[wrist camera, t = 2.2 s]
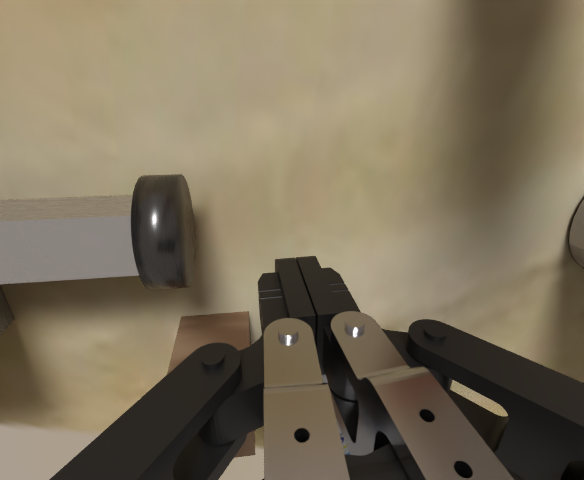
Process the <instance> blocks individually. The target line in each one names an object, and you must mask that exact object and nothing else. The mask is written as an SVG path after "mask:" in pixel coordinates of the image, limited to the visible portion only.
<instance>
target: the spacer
mask: <svg viewBox="0 0 584 480" xmlns="http://www.w3.org/2000/svg"><path fill="white" fill-rule="evenodd" d="M217 342H220V343H227V344H230V345H232V346H234V347H235V348H236V349H237V350H238V351H239V350H242V349H244V348H247V347H249V346H251V345H250V328H249V311H248V312H235V313H222V314H210V315H197V316H185V317H181V320H180V324H179V328H178V332H177V336H176V341H175V345H174V349H173V353H172V357H171V361H170V365H169V369H168V373H167V375H168V374H169V373H170V372H171V371H172V370H173V369H174V368H175V367H177V366H178V365H179V364H180V363H181V362H182V361H183V360H184V359H186V358H187V357H188V356H189V355H190V354H191V353H192V352H194V351H195V350H196V349H198V348H199V347H201V346H204V345H206V344H210V343H217ZM250 455H255V439H254V431H252V432H250V433H248V434H247V437H246V440H245V442H244V444H243V445H242V447H241V448H240V449H239V451H238V452H237V454H236V455H235V457H242V456H250Z"/></svg>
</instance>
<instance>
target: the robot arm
mask: <svg viewBox="0 0 584 480" xmlns="http://www.w3.org/2000/svg"><path fill="white" fill-rule="evenodd" d="M569 244H570V249H571V253H572V255H573V257H574V259H575V261H576V262H577V263H578V264H580V265H581V266H582V267H583V268H584V200H583V201H582V203H581V204H580V206H579V208H578V210H577V212H576V214H575V216H574V219H573V222H572V226H571V229H570V239H569ZM258 292H259V309H260V321H261V329H262V336H261V337H260V339H259V340H258V341H257V342H255V343H254V344H252V345H251V346H249V347H247V348H244V349H242V350H239V351H238V350H237V349H236V348H235V347H234V346H232V345H230V344H227V343H220V342H217V343H210V344H206V345H204V346H201V347H199V348H198V349H196V350H195V351H194V352H192V353H191V354H190V355H189V356H188V357H187V358H186V359H184V360H183V361H182V362H181V363H180V364H179V365H178V366H177V367H175V368H174V369H173V370H172V371H171V372H170V373H169V374H168V375H166V376H165V377H164V378H163V379H162V380H161V381H160V382H159V383H157V384H156V385H155V386H154V387H153V388H152V389H151V390H150V391H149V392H147V393H146V394H145V395H144V396H143V397H142V398H141V399H140V400H138V401H137V402H136V403H135V404H134V405H133V406H132V407H131V408H129V409H128V410H127V411H126V412H125V413H124V414H123V415H122V416H120V417H119V418H118V419H117V420H116V421H115V422H114V423H113V424H111V425H110V426H109V427H108V428H107V429H106V430H105V431H104V432H102V433H101V434H100V435H99V436H98V437H97V438H96V439H95V440H94V441H92V442H91V443H90V444H89V445H88V446H87V447H86V448H85V449H83V450H82V451H81V452H80V453H79V454H78V455H77V456H76V457H74V458H73V459H72V460H71V461H70V462H69V463H68V464H67V465H65V466H64V467H63V468H62V469H61V470H60V471H59V472H58V473H56V474H55V475H54V476H53V477H52V478H51V479H50V480H218V479H219V478H220V476H221V475H222V474H223V472H224V471H225V469H226V468H227V466H228V465H229V463H230V462H231V461H232V459H233V458H234V457H235V455H236V454H237V452H238V451H239V449H240V448H241V447H242V445H243V444H244V442H245V440H246V437H247V434H248V433H250V432H252V431H254V430H256V429H258V428H260V427H262V426H264V474H265V475H264V476H265V477H264V479H262V480H584V383H582V382H580V381H577V380H575V379H573V378H570V377H568V376H566V375H563V374H561V373H559V372H556V371H554V370H552V369H549V368H547V367H545V366H542V365H540V364H538V363H535V362H533V361H531V360H529V359H526V358H524V357H522V356H519V355H517V354H515V353H512V352H510V351H508V350H505V349H503V348H501V347H498V346H496V345H494V344H491V343H489V342H487V341H484V340H482V339H480V338H477V337H475V336H473V335H470V334H468V333H466V332H463V331H461V330H459V329H457V328H454V327H452V326H450V325H447V324H445V323H442V322H440V321H436V320H429V319H423V320H418V321H415V322H413V323H412V324H411V325H410V327H409V331H408V333H407V332H398V331H390V330H385V329H381V327H380V326H379V325H378V323H377V322H376V321H375V320H374V319H373V318H372V317H370V316H369V315H367V314H364V313H361V312H360V310H359V308H358V306H357V305H356V303H355V301H354V299H353V297H352V296H351V294H350V292H349V291H348V288H347V287H346V285H345V284H344V281H343V279H342V278H341V276H340V274H339V273H337V272H336V271H334V270H333V269H332V268H321V266H320V264H319V262H318V260H317V258H316V256H308V257H296V258H285V259H275V273H264V274H262V276H261V277H260V279H259V281H258ZM322 375H326V378H327V381H328V384H327V383H323V379H322ZM452 380H455V381H457V382H459V383H460V384H462V385H464V386H466V387H468V388H470V389H472V390H474V391H476V392H478V393H480V394H481V395H483V396H485V397H487V398H489V399H491V400H493V401H495V402H497V403H498V404H500V405H501V406H502V407H503V408H504V409H505V410H506V412H507V414H508V416H507V417H502V416H498V415H496V414H494V413H492V412H490V411H488V410H486V409H485V408H483V407H481V406H479V405H477V404H475V403H474V402H472V401H470V400H468V399H466V398H464V397H463V396H461V395H459V394H457V393H455V392H453V391H452V390H450V387H451V383H452ZM336 419H337V420H336ZM337 421H338V424H339V426H340V429H341V431H342V434H343V436H344V439H345V442H346V444H347V447H348V449H349V452H350V455H348V454H344V451H343V447H342V442H341V438H340V433H339V429H338V424H337Z"/></svg>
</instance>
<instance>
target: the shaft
mask: <svg viewBox="0 0 584 480" xmlns="http://www.w3.org/2000/svg"><path fill="white" fill-rule="evenodd" d="M194 266H195V229H194V217H193V209H192V202H191V197H190V192H189V188H188V185H187V182H186V180H185V178H184V176H183V175H181V174H180V175H145V176H141V177H140V178H139V179H138V181H137V183H136V185H135V188H134V192H133V195H123V196H95V197H67V198H38V199H10V200H0V284H13V283H29V282H44V281H60V280H76V279H92V278H107V277H123V276H140V279H141V281H142V283H143V284H144V286H145V287H146V288H147V289H149V290H158V289H172V288H187V287H190V285H191V283H192V280H193V275H194Z"/></svg>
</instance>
